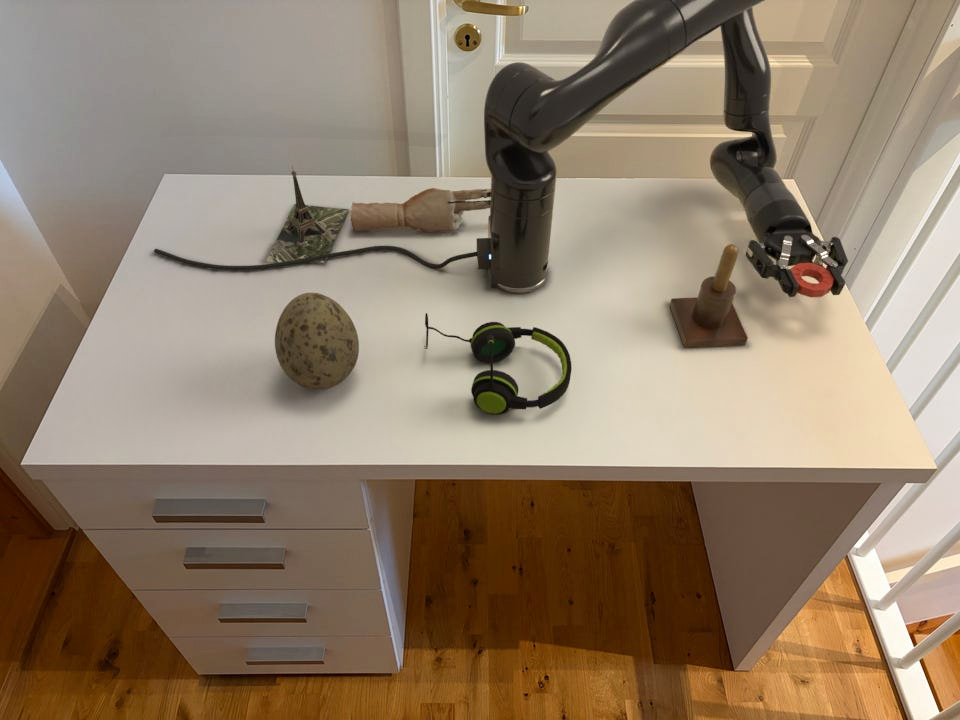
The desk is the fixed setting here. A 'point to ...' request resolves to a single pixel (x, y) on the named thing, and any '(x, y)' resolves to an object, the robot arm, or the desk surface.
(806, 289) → the ring
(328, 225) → the eiffel tower figurine
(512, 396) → the headphones
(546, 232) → the robot arm
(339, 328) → the decorative egg
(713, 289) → the ring stand
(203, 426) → the desk surface
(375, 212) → the mannequin hand
